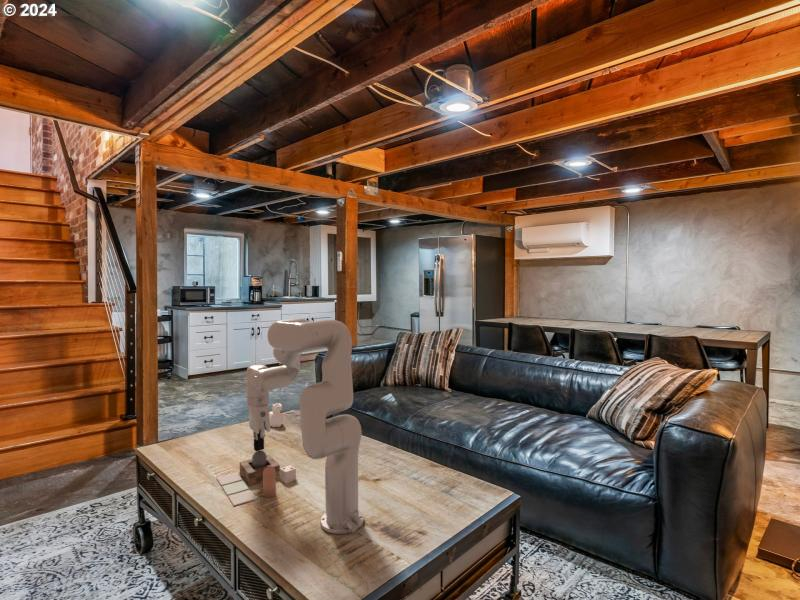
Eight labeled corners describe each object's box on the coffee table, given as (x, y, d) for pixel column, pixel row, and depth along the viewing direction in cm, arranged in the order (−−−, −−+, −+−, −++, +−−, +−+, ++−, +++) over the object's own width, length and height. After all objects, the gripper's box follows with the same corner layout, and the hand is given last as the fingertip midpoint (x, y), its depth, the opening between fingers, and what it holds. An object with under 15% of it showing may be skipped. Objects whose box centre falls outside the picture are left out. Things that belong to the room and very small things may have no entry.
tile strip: (256, 499, 140) (256, 498, 140) (234, 506, 136) (234, 505, 136) (236, 473, 159) (236, 472, 159) (216, 478, 155) (216, 477, 155)
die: (295, 479, 154) (295, 468, 154) (286, 483, 151) (285, 471, 151) (289, 475, 157) (289, 464, 157) (280, 479, 154) (279, 468, 154)
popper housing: (279, 476, 157) (279, 465, 156) (248, 484, 150) (248, 473, 150) (269, 465, 166) (269, 454, 165) (239, 472, 159) (239, 462, 159)
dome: (268, 467, 157) (268, 451, 157) (254, 471, 154) (254, 454, 154) (264, 462, 161) (263, 447, 161) (250, 466, 158) (250, 450, 158)
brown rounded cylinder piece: (277, 495, 143) (277, 467, 142) (265, 499, 141) (265, 470, 140) (273, 490, 146) (272, 463, 146) (261, 494, 144) (261, 466, 143)
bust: (284, 431, 207) (295, 409, 212) (274, 425, 201) (285, 403, 207) (267, 426, 213) (278, 405, 218) (257, 421, 208) (268, 399, 213)
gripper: (275, 403, 152) (276, 454, 153) (261, 393, 164) (262, 440, 166) (254, 406, 148) (255, 459, 149) (241, 396, 160) (242, 445, 161)
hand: (259, 449), depth 157 cm, fingers closed
